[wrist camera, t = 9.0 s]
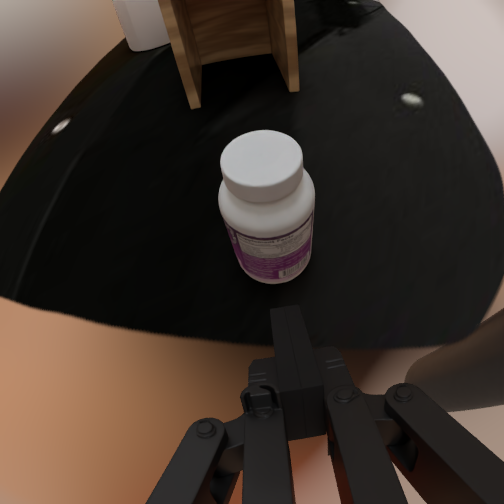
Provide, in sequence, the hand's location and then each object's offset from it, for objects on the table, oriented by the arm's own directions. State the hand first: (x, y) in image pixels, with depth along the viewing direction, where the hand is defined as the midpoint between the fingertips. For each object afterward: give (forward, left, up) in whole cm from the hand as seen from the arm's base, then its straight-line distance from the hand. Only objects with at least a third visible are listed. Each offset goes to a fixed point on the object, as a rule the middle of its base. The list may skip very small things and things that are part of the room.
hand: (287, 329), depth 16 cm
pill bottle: (+6, -4, -4) cm, 8 cm away
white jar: (+59, -23, -4) cm, 63 cm away
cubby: (+28, -20, -4) cm, 35 cm away
